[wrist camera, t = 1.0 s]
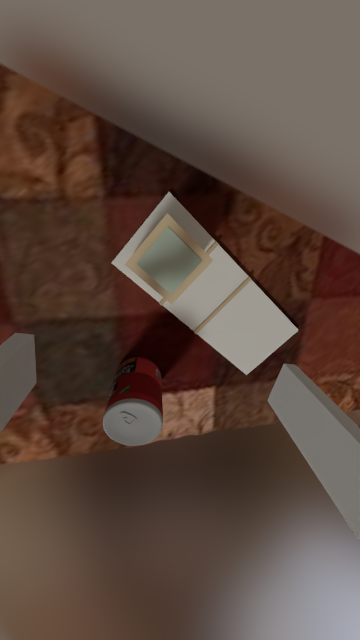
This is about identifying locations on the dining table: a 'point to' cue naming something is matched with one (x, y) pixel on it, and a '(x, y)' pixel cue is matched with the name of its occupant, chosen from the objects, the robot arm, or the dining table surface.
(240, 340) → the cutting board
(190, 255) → the tan cube
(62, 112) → the dining table surface
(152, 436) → the canned food
